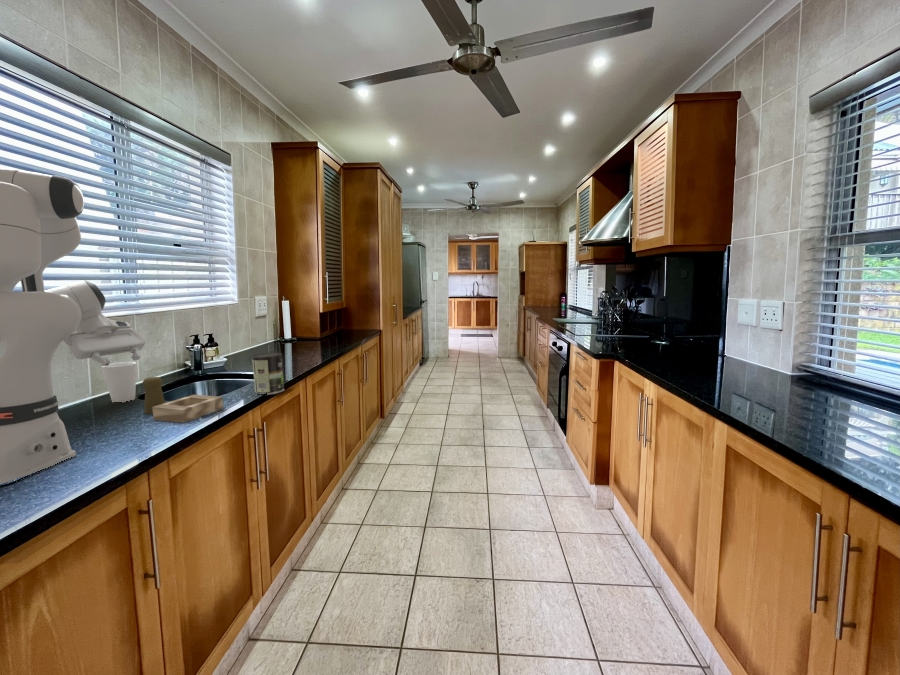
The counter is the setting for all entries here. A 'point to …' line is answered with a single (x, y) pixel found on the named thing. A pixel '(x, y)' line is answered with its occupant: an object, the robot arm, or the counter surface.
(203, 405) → the block
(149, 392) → the cork
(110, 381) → the foam cup
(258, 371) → the coffee can
